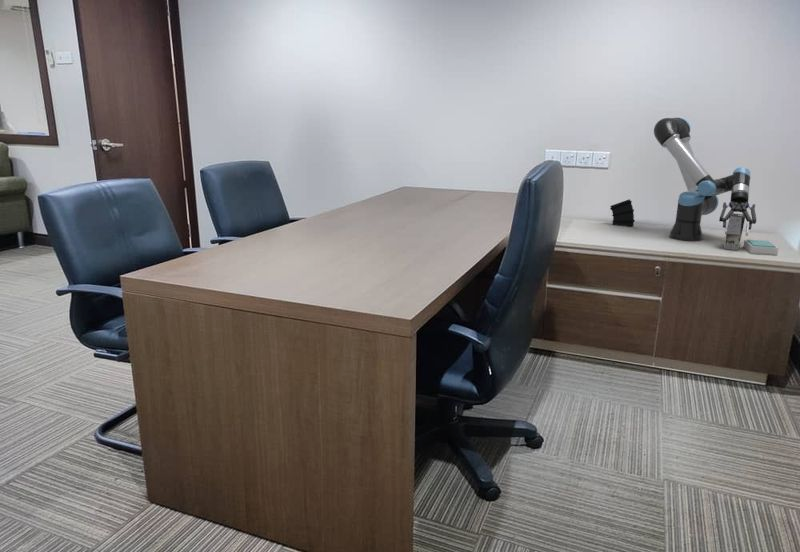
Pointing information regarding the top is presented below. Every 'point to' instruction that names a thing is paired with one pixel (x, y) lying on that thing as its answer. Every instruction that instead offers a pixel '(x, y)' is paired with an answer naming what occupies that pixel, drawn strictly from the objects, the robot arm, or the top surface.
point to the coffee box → (734, 231)
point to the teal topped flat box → (760, 249)
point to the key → (761, 243)
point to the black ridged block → (623, 214)
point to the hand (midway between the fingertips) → (736, 233)
